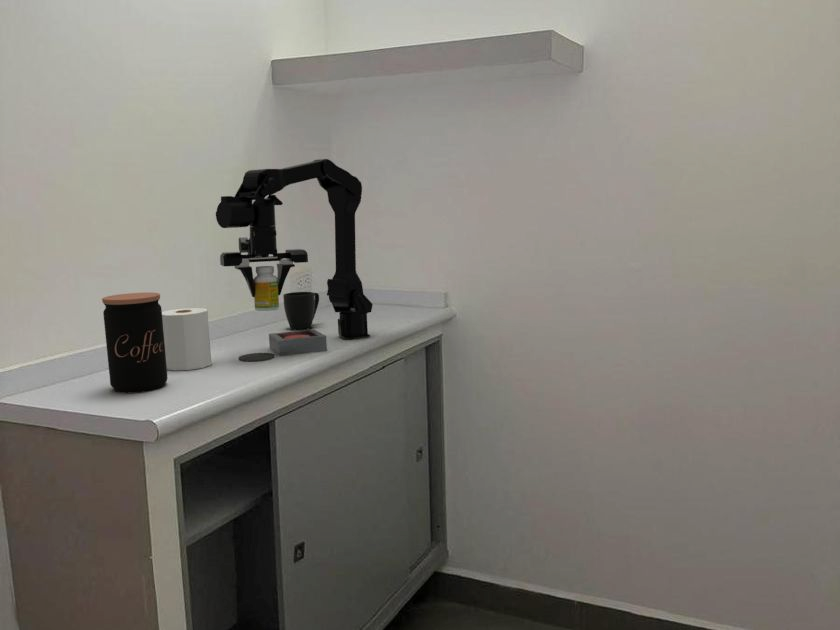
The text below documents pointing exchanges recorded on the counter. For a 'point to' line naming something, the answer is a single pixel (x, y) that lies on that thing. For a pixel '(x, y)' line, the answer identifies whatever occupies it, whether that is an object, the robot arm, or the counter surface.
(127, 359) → the coffee jar
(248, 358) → the coaster
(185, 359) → the toilet paper
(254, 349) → the counter surface
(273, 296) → the supplement bottle
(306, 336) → the button
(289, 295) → the mug
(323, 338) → the grey square tray
